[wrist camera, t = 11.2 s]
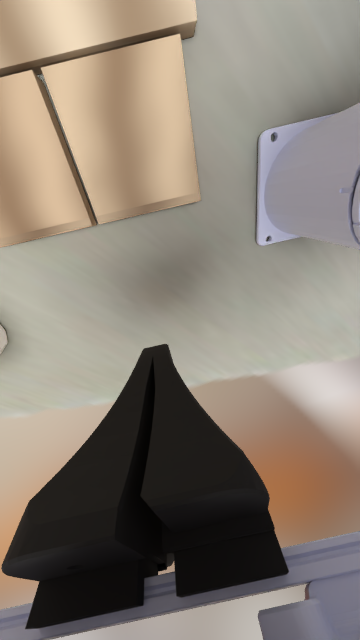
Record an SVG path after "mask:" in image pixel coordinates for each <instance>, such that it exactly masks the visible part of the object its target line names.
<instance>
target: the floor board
mask: <svg viewBox="0 0 360 640" xmlns="http://www.w3.org/2000/svg"><path fill="white" fill-rule="evenodd" d="M196 23H197V15H196V3H195V0H0V78H1V77H5V76H9V75H13V74H17V73H21V72H25V71H29V70H33V72H34V73H35V74H36V75H38V74H42V70H41V68H42V67H46V66H50V65H54V64H58V63H62V62H66V61H70V60H74V59H78V58H83V57H87V56H91V55H95V54H99V53H103V52H107V51H111V50H115V49H119V48H124V47H128V46H132V45H136V44H140V43H144V42H148V41H152V40H156V39H160V38H165V37H169V36H173V35H177V34H180V36H181V40H182V39H186V38H190V37H193V36H194V32H195V27H196Z"/></svg>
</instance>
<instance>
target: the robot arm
mask: <svg viewBox="0 0 360 640" xmlns="http://www.w3.org/2000/svg"><path fill="white" fill-rule="evenodd" d="M272 134H274V135H275V139H274V141H273V142H272V141H271V135H272ZM268 236H269V240H268V241H266V238H267V237H268ZM298 237H306V238H311V239H315V240H319V241H324V242H328V243H332V244H337V245H341V246H345V247H350V248H354V249H358V250H360V102H359V103H357V104H355V105H353V106H351V107H349V108H347V109H345V110H343V111H341V112H339V113H335V114H331V115H326V116H322V117H318V118H314V119H309V120H305V121H301V122H297V123H293V124H288V125H284V126H280V127H276V128H271V129H267V130H265V131H264V132H262V133H261V135H260V137H259V141H258V185H257V236H256V241H257V244H258V245H261V246H264V245H268V244H272V243H277V242H281V241H285V240H290V239H294V238H298ZM269 499H270V498H269V494H268V491H267V489H266V487H265V485H264V483H263V481H262V480H261V478H260V476H259V475H258V473H257V471H256V470H255V468H254V467H253V465H252V464H251V463H250V461H249V460H248V458H247V457H246V455H245V454H244V452H243V451H242V450H241V449H240V448H239V447H238V446H237V445H236V444H235V443H234V442H233V441H232V440H231V439H230V438H229V437H228V436H227V435H226V434H225V433H224V432H223V431H222V430H221V429H220V428H219V426H217V424H216V423H215V422H214V421H213V420H212V419H211V418H210V416H209V415H208V414H207V413H206V412H205V410H204V409H203V408H202V407H201V406H200V405H199V403H198V402H197V400H196V399H195V398H194V396H193V395H192V394H191V392H190V391H189V389H188V388H187V386H186V385H185V383H184V382H183V380H182V378H181V377H180V375H179V373H178V372H177V370H176V368H175V366H174V364H173V360H172V357H171V354H170V350H169V347H168V345H167V344H162V345H158V346H154V347H149V348H145V349H143V351H142V353H141V355H140V357H139V359H138V362H137V364H136V366H135V368H134V370H133V372H132V374H131V376H130V378H129V380H128V381H127V383H126V385H125V387H124V388H123V390H122V392H121V393H120V395H119V397H118V398H117V400H116V402H115V403H114V405H113V406H112V408H111V409H110V411H109V412H108V413H107V415H106V416H105V418H104V419H103V420H102V422H101V423H100V424H99V426H98V427H97V428H96V429H95V431H94V432H93V433H92V435H91V436H90V437H89V438H88V440H87V441H86V442H85V443H84V444H83V445H82V447H81V448H80V449H79V450H78V451H77V452H76V453H75V455H74V456H73V457H72V458H71V459H70V460H69V461H68V462H67V463H66V465H65V466H64V467H63V468H62V469H61V470H60V471H59V472H58V473H57V474H56V475H55V476H54V477H53V478H52V479H51V480H50V481H49V482H48V483H47V484H46V485H45V486H44V487H43V488H42V489H41V490H40V491H39V492H38V493H37V494H36V495H35V496H34V497H33V498H32V499H31V500H30V501H29V503H28V505H27V507H26V509H25V512H24V514H23V516H22V518H21V521H20V523H19V526H18V528H17V530H16V533H15V535H14V537H13V540H12V542H11V545H10V547H9V550H8V552H7V554H6V557H5V559H4V561H3V564H2V571H3V573H4V574H6V575H8V576H12V577H17V578H23V579H29V580H35V581H39V585H38V588H37V592H36V595H35V598H34V601H33V603H29V604H24V605H20V606H15V607H11V608H6V609H1V610H0V640H50V639H55V638H59V637H64V636H69V635H73V634H78V633H82V632H87V631H91V630H96V629H101V628H105V627H110V626H115V625H119V624H124V623H128V622H133V621H138V620H142V619H146V618H151V617H156V616H161V615H165V614H170V613H174V612H179V611H184V610H188V609H193V608H197V607H202V606H207V605H211V604H215V603H220V602H225V601H230V600H234V599H239V598H243V597H248V596H253V595H257V594H262V593H266V592H271V591H276V590H280V589H285V588H289V587H294V586H298V585H303V584H307V585H306V588H305V600H304V601H300V602H296V603H291V604H287V605H282V606H278V607H273V608H269V609H265V610H260V611H259V613H258V619H259V623H260V627H261V631H262V635H263V640H360V531H358V532H353V533H348V534H344V535H340V536H335V537H331V538H326V539H321V540H316V541H312V542H307V543H303V544H298V545H294V546H289V547H285V548H280V545H279V543H278V540H277V537H276V534H275V531H274V525H273V522H272V519H271V516H270V514H269V511H268V505H269ZM173 561H174V563H175V572H170V573H166V574H162V575H158V571H163V570H166V569H167V567H168V566H171V565H172V563H173ZM308 583H309V584H308Z"/></svg>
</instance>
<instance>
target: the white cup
mask: <svg viewBox="0 0 360 640" xmlns="http://www.w3.org/2000/svg"><path fill="white" fill-rule="evenodd" d="M7 343H8V340H7V335H6V331H5V329H4V328H3V327H2V326H1V325H0V354H1V353H2V351H3V350H4V348H5V346H6V345H7Z"/></svg>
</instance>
